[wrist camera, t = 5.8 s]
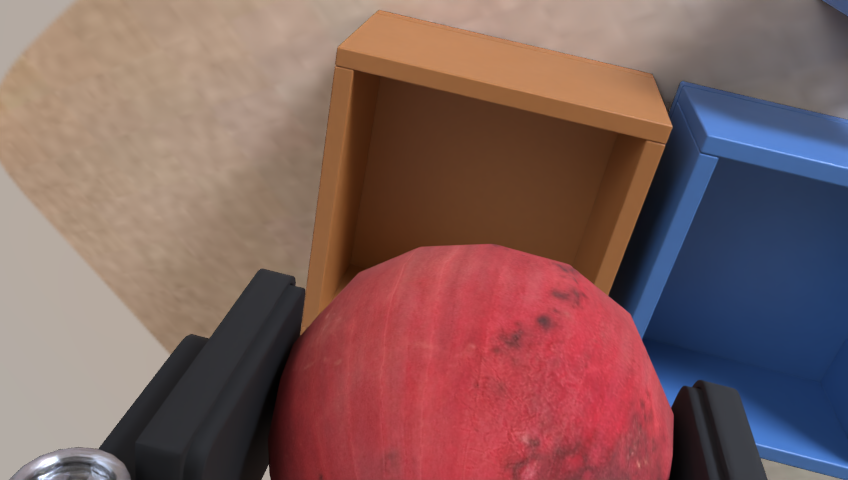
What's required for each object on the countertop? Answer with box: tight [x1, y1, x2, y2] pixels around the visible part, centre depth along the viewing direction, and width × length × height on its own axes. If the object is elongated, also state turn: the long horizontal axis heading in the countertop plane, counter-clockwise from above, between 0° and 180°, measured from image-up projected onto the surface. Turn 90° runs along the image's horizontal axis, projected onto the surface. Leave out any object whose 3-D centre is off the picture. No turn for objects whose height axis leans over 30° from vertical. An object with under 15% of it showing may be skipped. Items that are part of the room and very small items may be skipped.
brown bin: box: [300, 10, 672, 336], centre depth 27 cm, size 11×10×6 cm
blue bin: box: [608, 81, 848, 480], centre depth 26 cm, size 11×10×6 cm
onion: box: [268, 244, 674, 480], centre depth 11 cm, size 6×6×8 cm
